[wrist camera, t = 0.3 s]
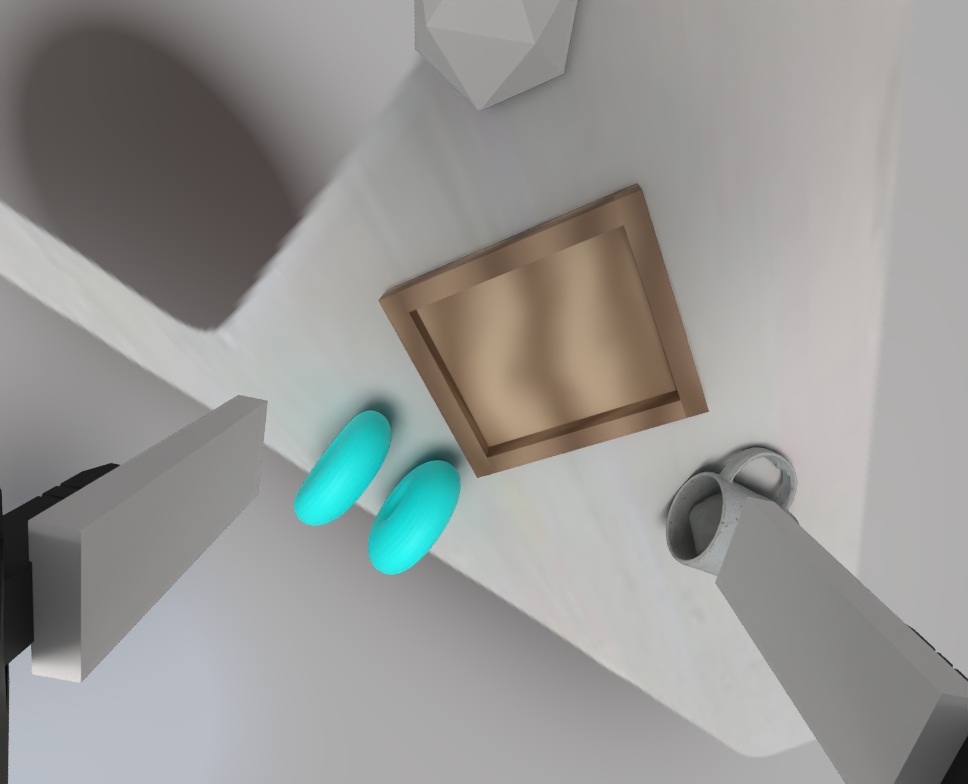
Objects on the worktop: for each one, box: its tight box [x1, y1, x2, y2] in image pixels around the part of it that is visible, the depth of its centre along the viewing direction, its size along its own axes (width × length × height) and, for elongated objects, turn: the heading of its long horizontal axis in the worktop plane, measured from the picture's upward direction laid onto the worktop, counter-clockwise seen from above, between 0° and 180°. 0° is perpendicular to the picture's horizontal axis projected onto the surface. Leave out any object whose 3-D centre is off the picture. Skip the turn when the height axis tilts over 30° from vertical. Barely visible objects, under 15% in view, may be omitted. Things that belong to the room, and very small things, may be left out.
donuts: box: [294, 410, 460, 574], centre depth 43 cm, size 10×10×10 cm
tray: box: [378, 184, 709, 478], centre depth 39 cm, size 19×17×2 cm
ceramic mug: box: [666, 447, 799, 576], centre depth 42 cm, size 10×8×7 cm
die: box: [415, 0, 578, 111], centre depth 27 cm, size 8×9×10 cm
